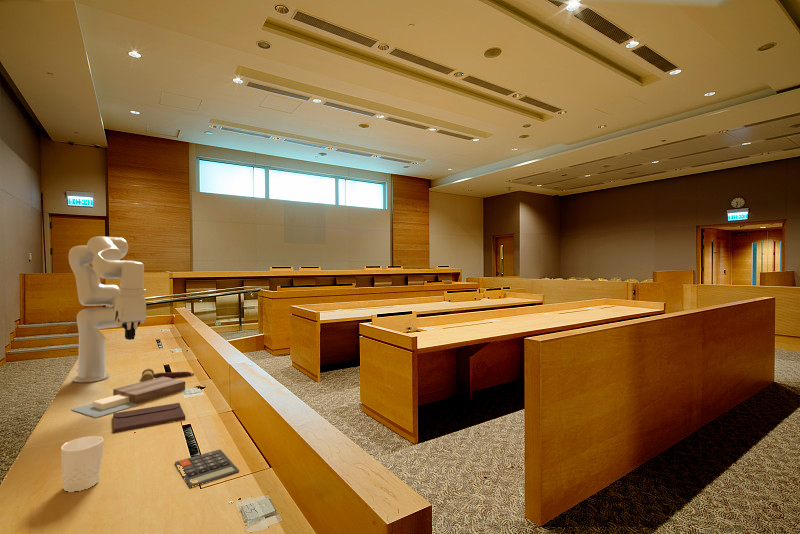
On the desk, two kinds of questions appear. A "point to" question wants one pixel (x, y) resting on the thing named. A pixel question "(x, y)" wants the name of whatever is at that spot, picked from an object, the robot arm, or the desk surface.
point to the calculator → (207, 467)
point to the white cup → (81, 463)
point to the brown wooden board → (150, 389)
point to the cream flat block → (110, 401)
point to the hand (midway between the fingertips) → (129, 339)
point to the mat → (97, 412)
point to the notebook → (147, 417)
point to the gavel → (162, 374)
